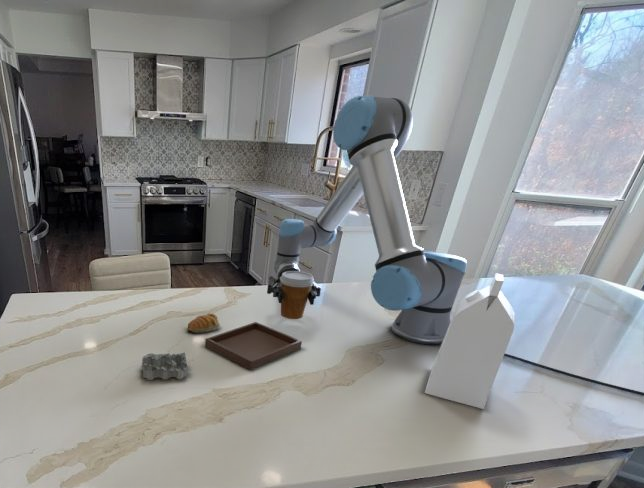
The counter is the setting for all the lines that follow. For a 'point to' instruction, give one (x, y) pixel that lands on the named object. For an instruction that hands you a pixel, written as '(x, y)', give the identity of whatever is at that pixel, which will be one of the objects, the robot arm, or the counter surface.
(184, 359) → the egg carton
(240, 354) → the serving tray
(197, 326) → the pastry
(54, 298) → the counter surface
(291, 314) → the disposable coffee cup
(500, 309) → the milk
